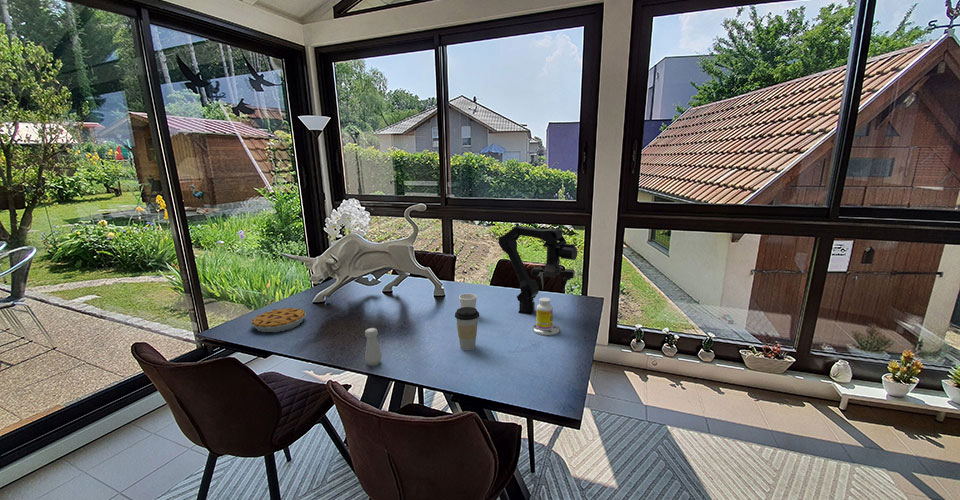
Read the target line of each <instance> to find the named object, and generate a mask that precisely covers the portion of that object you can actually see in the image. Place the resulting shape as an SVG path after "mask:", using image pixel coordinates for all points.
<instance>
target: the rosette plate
mask: <svg viewBox="0 0 960 500" xmlns="http://www.w3.org/2000/svg"><path fill="white" fill-rule="evenodd" d="M532 332H533V333H535V334H537V335H539V336H545V337H551V336H555V335H558V334H559V333H560V327H559V326H558V325H556V324H553V323H552V329H551V330H548V331H542V330H539V329H537V327H536V324H534V325H533V327H532Z"/></svg>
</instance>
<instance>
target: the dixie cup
mask: <svg viewBox="0 0 960 500" xmlns="http://www.w3.org/2000/svg"><path fill="white" fill-rule="evenodd" d="M477 297H478V295H476V294H474V293H462V294H460V295H459V296H458V299H459V303H460V308H462V307H473V308H476V307H477V306H476V305H477Z"/></svg>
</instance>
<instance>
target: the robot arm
mask: <svg viewBox="0 0 960 500" xmlns="http://www.w3.org/2000/svg"><path fill="white" fill-rule="evenodd" d="M520 236H524V237H529V238H535V239H540V240H542V241H543V242H544V243H543V244H542V245H541V246H542V247H543V248H546V262H545V265H544V269H543V267H542V266H534V267H533V268H532V269H531V271H530V275H531V276H533V277H534V278H535V279H532V278H531V277H530V275H529V273H528V271H527V269H526V266H525V264H524V262H523V260H522V257H521V256H520V254H519V252H518V242H517V240H518V239H519V238H520ZM498 245H499V246H500V248H501V250H502V251H503V252H504V253H506V255H507V256H508V259H509V261H510V263H511V265H512V267H513V269H514V271H515V273H516V276H517V278H518V280H519V289H520V293H519V294H517V296H516V298H517V301H518V302H519V310H518V313H519V314H524V315H525V314H528V315H532V314H533V313H534V311H535V310H536V309H535V308H536V307H535V306H536V303H535V301H534V300H535V298H536V297H537V295H538V294H539V292H540V289H541V290H542V291H543V290H544V277H545V278H552V279H553V278H556V276H563V278H562V281H563V282H562V287H561V292H562V293H563V292H564V291H565V288H566V285H567V283H568V281H570V280H571V279H574V278H575V276H576V275H575V274H576V271H575V270H574V269H571V268H565V270H562V268H561V266H560V265H561V264H560V262H561V260H560V259H563V260H570V261H575V260H576V259H577V257H578V254H579V253H578V249H577V247H576V244H574V243H568V242H567V241H566V239H565V236H564V235H563V233H562V231H561V229H560V228H546V229H543V228H536V227H528V226H523V225H516V226H513V227H512V228H511V230H509V231H508V232H507V233H504V234H503V235H502V236H500V237H499V239H498ZM536 279H537V280H538V281H537V280H536ZM537 282H538V283H539V285H538V283H537ZM539 287H540V288H539Z"/></svg>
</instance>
